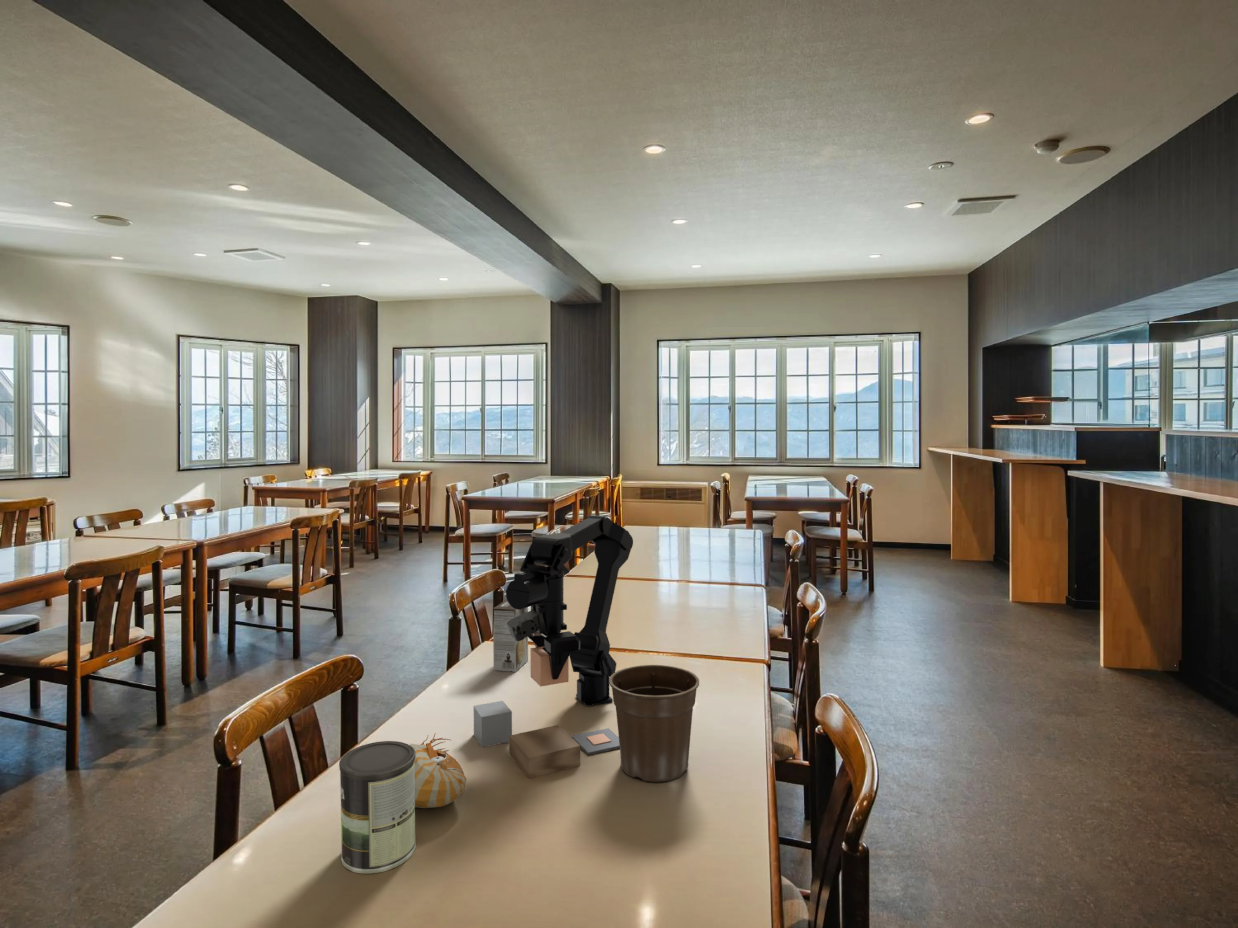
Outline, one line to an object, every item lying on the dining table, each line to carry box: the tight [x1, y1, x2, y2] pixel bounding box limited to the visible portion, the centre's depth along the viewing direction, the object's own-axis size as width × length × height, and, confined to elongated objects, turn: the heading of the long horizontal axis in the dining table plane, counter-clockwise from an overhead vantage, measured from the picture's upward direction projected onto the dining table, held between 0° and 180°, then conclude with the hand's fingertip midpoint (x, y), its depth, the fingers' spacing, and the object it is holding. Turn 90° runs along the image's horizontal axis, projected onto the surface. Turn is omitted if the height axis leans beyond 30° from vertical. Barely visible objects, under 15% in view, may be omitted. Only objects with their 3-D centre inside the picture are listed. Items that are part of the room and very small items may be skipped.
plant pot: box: [609, 664, 700, 783], centre depth 125 cm, size 16×16×16 cm
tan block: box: [508, 724, 581, 779], centre depth 128 cm, size 10×10×4 cm
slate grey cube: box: [473, 700, 513, 748], centre depth 137 cm, size 6×6×6 cm
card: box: [571, 727, 620, 756], centre depth 135 cm, size 8×8×1 cm
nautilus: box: [409, 732, 467, 809], centre depth 117 cm, size 8×22×15 cm
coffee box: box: [492, 599, 529, 673], centre depth 179 cm, size 9×6×16 cm
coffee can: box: [338, 740, 417, 875], centre depth 100 cm, size 10×10×14 cm
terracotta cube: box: [529, 646, 570, 687], centre depth 142 cm, size 6×6×6 cm
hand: (549, 674), depth 142 cm, fingers closed on terracotta cube, 6 cm apart
